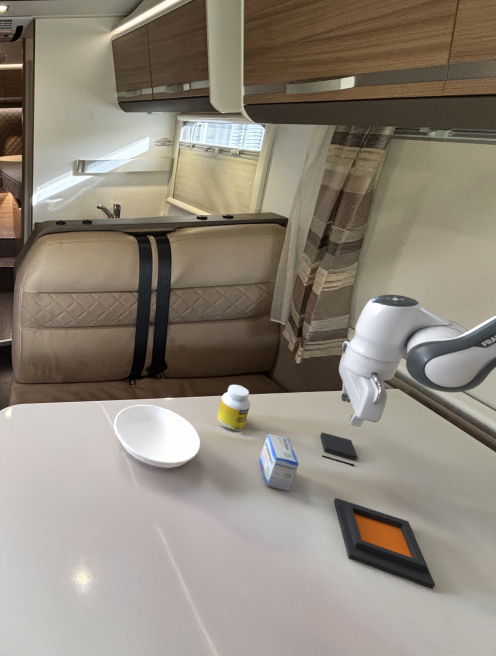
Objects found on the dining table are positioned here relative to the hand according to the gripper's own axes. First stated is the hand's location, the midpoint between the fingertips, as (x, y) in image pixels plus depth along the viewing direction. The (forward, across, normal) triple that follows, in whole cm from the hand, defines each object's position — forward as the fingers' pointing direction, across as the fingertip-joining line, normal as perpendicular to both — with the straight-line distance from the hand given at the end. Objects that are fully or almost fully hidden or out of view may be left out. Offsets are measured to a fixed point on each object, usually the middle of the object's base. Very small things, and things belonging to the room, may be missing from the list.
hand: (349, 411), depth 100 cm
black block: (+13, 0, 0) cm, 13 cm away
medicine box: (+13, -15, +14) cm, 24 cm away
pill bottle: (+13, -1, +23) cm, 26 cm away
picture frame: (+13, -24, -3) cm, 27 cm away
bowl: (+13, -20, +40) cm, 46 cm away
